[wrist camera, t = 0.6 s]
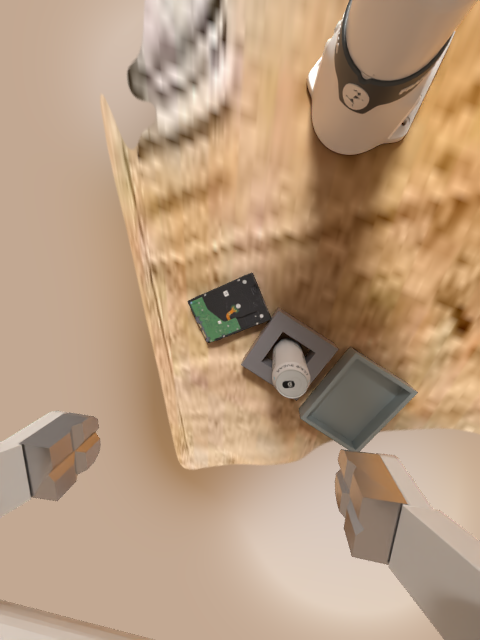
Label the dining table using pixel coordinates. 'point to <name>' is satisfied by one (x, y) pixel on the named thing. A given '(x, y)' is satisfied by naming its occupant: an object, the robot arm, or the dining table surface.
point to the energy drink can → (289, 369)
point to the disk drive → (230, 308)
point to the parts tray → (355, 401)
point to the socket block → (297, 330)
